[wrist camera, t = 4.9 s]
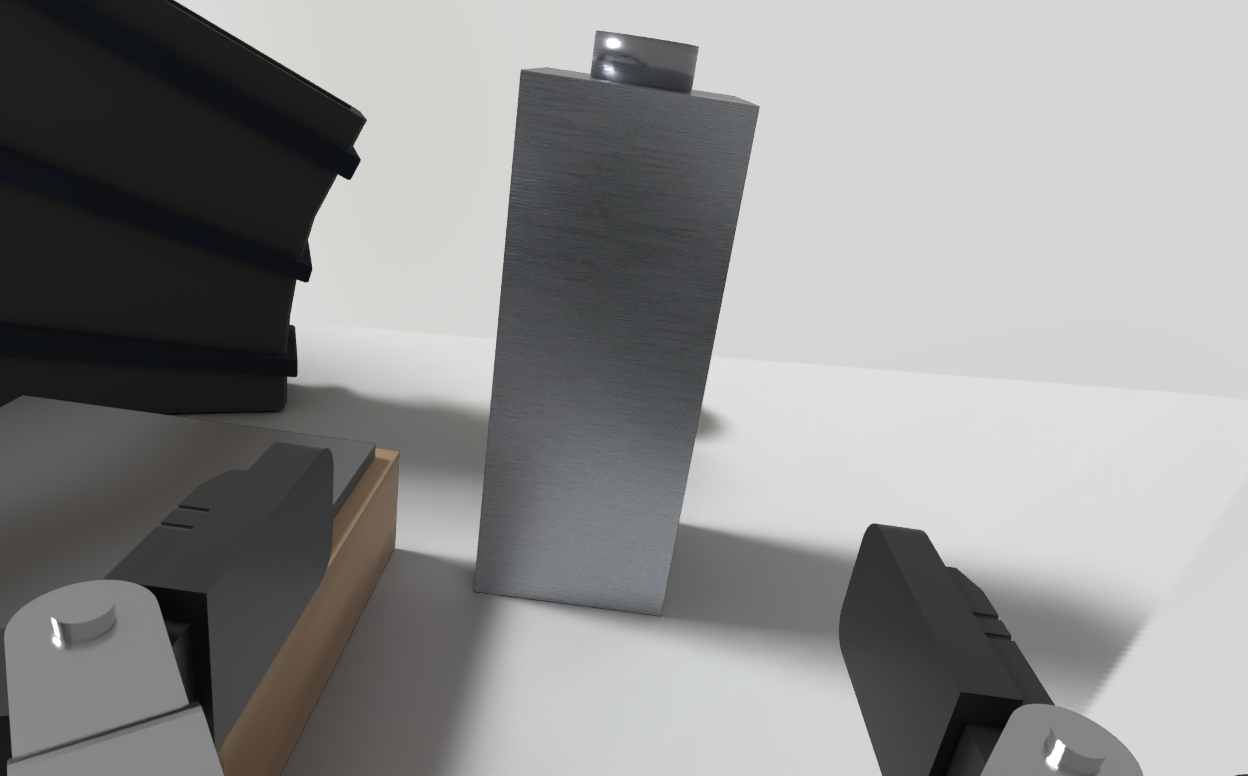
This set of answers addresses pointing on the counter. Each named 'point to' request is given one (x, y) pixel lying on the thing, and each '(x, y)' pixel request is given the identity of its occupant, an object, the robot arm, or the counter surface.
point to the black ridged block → (154, 206)
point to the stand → (145, 495)
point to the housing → (607, 321)
